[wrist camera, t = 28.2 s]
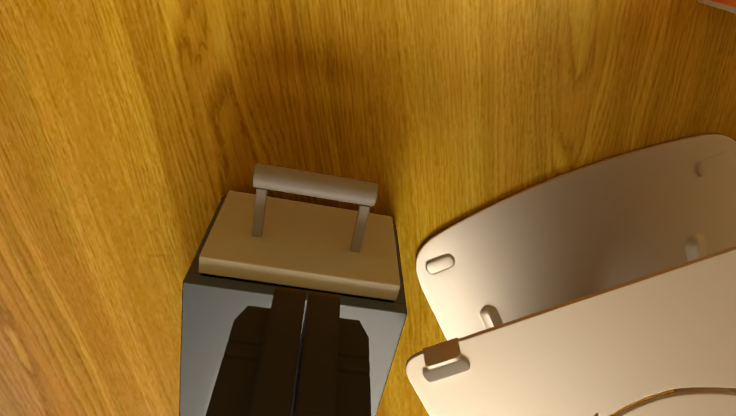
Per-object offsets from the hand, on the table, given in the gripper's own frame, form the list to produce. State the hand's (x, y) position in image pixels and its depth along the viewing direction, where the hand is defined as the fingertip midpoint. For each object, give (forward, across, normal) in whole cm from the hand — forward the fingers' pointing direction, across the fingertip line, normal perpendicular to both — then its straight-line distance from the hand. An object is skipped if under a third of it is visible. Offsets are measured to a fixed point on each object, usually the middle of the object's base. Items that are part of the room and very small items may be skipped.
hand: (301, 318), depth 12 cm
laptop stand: (+23, -23, +14) cm, 36 cm away
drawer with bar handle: (+22, 0, +14) cm, 26 cm away
